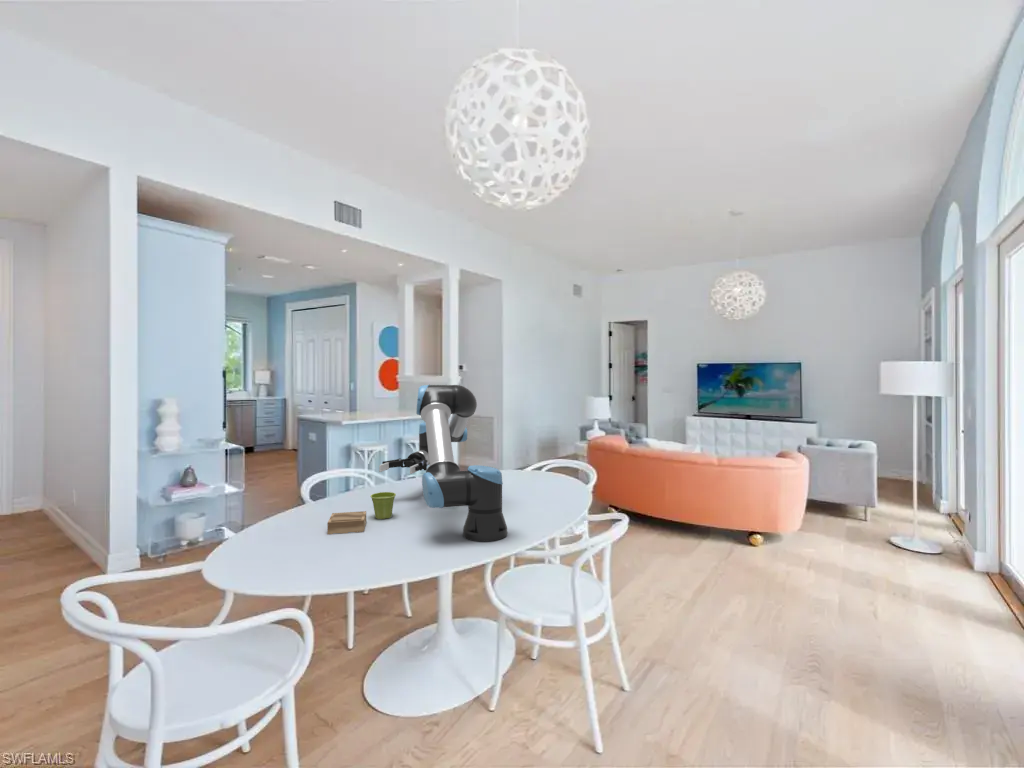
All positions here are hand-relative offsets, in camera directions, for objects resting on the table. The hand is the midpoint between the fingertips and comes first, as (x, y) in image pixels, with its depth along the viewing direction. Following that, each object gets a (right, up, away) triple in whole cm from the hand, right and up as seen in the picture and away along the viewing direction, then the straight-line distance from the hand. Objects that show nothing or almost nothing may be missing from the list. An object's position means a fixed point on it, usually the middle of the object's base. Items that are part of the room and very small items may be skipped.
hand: (395, 469), depth 203 cm
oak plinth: (-12, -17, -23) cm, 31 cm away
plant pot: (-2, -17, -10) cm, 20 cm away
